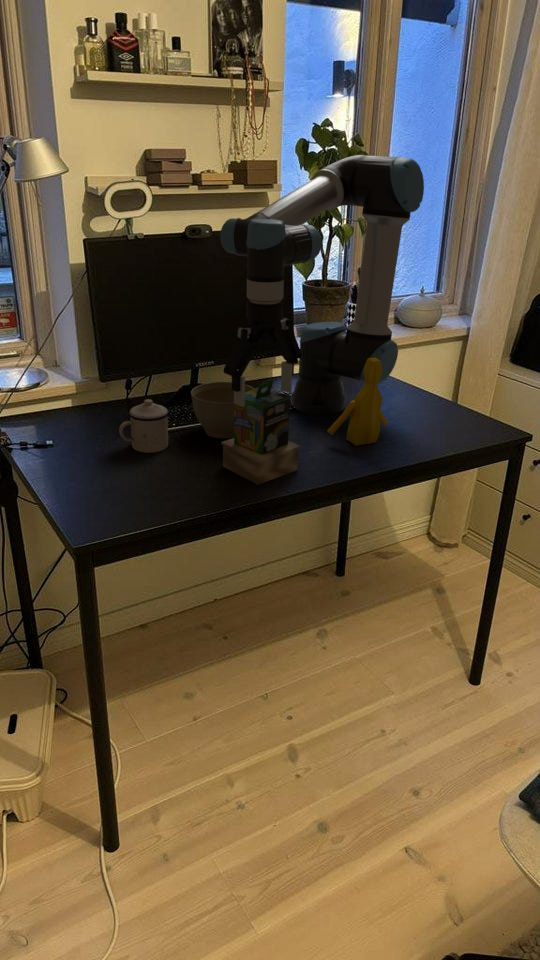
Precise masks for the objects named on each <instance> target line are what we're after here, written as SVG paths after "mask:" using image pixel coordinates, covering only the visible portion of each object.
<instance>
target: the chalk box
mask: <svg viewBox="0 0 540 960" xmlns="http://www.w3.org/2000/svg"><path fill="white" fill-rule="evenodd" d="M273 383H274V380H273V379H272V380H268V381H265V382H262V383H260V384H259V385H258V386H257V387H255V388H254V387H253V388H254V389H252V390H249V391H246V392H245V406H243V407H241V406H239V405H237V404H234V444H237V445H240V446H242V447H245V448H247V449H250V450H253V451H255V452H258V453H260V454H262V455H264V454H265V453H267V452H270V451H272V450H274V449H277V448H279V447H281V446H284V445H286V444H288V441H289V434H290V433H289V432H290V431H289V430H290V416H291V415H290V413H291V412H290V410H291V409H290V408H291V396H292V395H291V396H290V395H288V394H285V393H281V392H279V391H276V390H272V387H273ZM266 387H267V388H266Z"/></svg>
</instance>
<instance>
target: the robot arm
mask: <svg viewBox="0 0 540 960" xmlns="http://www.w3.org/2000/svg"><path fill="white" fill-rule="evenodd" d="M424 191H425V180H424V175H423V171H422V168H421V166H420V165H419V163H418V162H417V161H416V160H414V159H412V158H408V157H401V156H385V155H384V156H383V155H382V156H381V155H367V154H356V155H351V156H348V157H345V158H343V159H340V160H336V161H335V162H332V163H331V164H329V165H327V166H325V167H323V168H321V169H319V170H317V171H316V172H315V173H314V174H313V175H312V176H311V179H310V180H309V181H308V182H305V183H304V184H303V185H301V186H300V187H298V188H296V189H294V190H293V191H291V192H289V193H288V194H287V193H286V195H284V196H282V197H281V198H279V199H278V200H276V201H273V202H272V203H271V204H269V205H267V206H265V207H263V208H262V209H260V210H259V211H257V212H255V213H253V214H252V215H250V216H248V217H246V218H240V217H237V218H228V219H227V220H226V221H225V222H224V223H223V225H222V227H221V229H220V235H219V236H220V237H219V238H220V243H221V246H222V248H223V249H224V251H225V252H227V253H229V254H233V255H236V256H238V257H240V256H242V257H246V259H247V261H246V262H247V264H246V265H247V266H246V267H247V271H246V272H247V274H246V298H247V299H248V300H247V301H246V319H247V321H248V325H247V327H241V326H237V327H236V329H235V334H234V335H235V336H234V340H233V343H232V344H231V345H232V346H231V348H230V351H229V353H228V356H227V360H226V363H225V365H224V368H223V371H222V372H223V373H224V374H225V375H228V376H230V377H231V382H232V390H233V391H234V404H237V405H239V406H241V407H243V406H245V385H246V376H244V375H243V374H244V372H245V371H246V370H247V367H248V365H250V362H251V360H252V358H253V357H254V355H255V353H256V352H257V351H258V350H260V348H261V347H266V346H267V345H273V346H274V347H275V348H276V350H277V351H278V352H279V354H280V355H281V357H282V359H284V360H285V361H284V360H282V361H281V373H280V374H281V375H280V391H283V392H286V393H288V394H290V393H292V387H293V384H292V383H293V377H294V374H295V365H296V364H298V377H297V381H296V383H295V387H294V390H293V393H292V394H291V399H290V405H291V404H292V405H293V406H294V407H295V408H296V411H298V412H301V413H304V414H309V415H315V416H327V415H334V414H338V413H340V412H343V411H345V409H346V408H345V407H346V397H345V395H344V393H343V392H344V391H343V390H344V389H343V386H342V381H341V379H342V377H344V378H348V379H352V380H356V381H360V382H362V383H364V384H365V378H364V373H363V370H364V366H365V364H366V361H367V359H368V358H374V357H375V358H377V359H378V360H380V361H381V364H382V374H381V377H380V379H379V381H378V383H377V385H378V384H381V383H383V382H385V381H386V380H387V378H389V376H390V375H391V373H392V372H393V370H394V368H395V366H396V364H397V363H396V362H397V360H398V355H399V349H398V347H399V346H398V344H397V343H396V342H395V341H394V340H392V335H393V331H392V330H391V328H390V327H389V325H388V322H389V315H390V309H391V304H392V296H393V290H394V283H395V276H396V272H397V271H396V270H397V264H398V256H399V249H400V244H401V243H400V242H401V237H402V230H403V226H404V225H405V224H406V223H408V222H409V221H410V219H411V213H414V212H416V211H417V210H418V209H419V208H420V207H421V203H422V201H423V199H424ZM342 206H354V207H362V213H361V216H362V218H363V219H364V220H365V221H366V228H365V229H366V230H365V236H364V244H363V251H362V258H361V265H360V273H359V281H358V287H357V295H356V296H357V297H356V302H355V310H354V319H353V321H352V322H351V323H350V324H349V325H347V327H345V324H344V323H342V322H339V321H321V322H314V323H313V322H312V323H309V324H306V325H305V326H303V327H302V329H301V331H300V340H299V344H298V341H297V337H296V335H295V333H294V330H293V320H292V319H290V318H286V317H284V301H282V300H283V299H284V289H285V288H284V286H285V285H284V284H285V283H284V282H285V267H289V266H292V265H293V266H294V265H298V264H305V263H307V262H310V261H312V260H314V259H316V258H317V257H318V255H319V254H320V252H321V250H322V237H321V234H320V232H319V230H318V229H317V228H316V227H314V226H313V225H310V224H306V223H307V222H310V220H312V219H314V218H315V217H317V216H318V215H320V214H321V213H323V212H325V211H334V210H336V209H337V208H339V207H342ZM280 331H281V333H282V336H283V337H282V336H281V334H280Z"/></svg>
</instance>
